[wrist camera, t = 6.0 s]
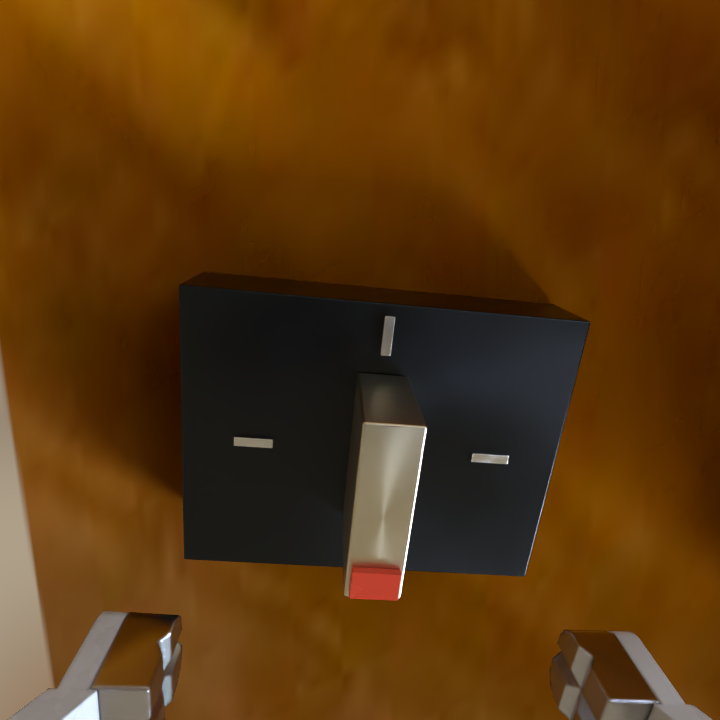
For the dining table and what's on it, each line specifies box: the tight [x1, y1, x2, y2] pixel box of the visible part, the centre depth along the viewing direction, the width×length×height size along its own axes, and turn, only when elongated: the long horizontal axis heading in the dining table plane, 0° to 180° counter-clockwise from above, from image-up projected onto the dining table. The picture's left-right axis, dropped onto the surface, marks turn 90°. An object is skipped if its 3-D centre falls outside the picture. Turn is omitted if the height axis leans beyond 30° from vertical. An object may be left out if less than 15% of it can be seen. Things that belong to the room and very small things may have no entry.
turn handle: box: [343, 373, 427, 601], centre depth 16 cm, size 6×2×4 cm, turn 174°
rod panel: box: [179, 272, 590, 576], centre depth 19 cm, size 14×11×3 cm
